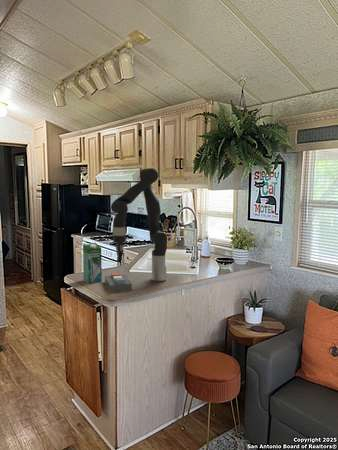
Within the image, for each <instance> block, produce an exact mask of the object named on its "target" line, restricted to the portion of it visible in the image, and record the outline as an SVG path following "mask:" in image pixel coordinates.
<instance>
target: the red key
mask: <svg viewBox="0 0 338 450" xmlns="http://www.w3.org/2000/svg"><path fill="white" fill-rule="evenodd" d="M120 275H121V273H120V272H112V273H110V276H111V277H112V278H113V276H120Z"/></svg>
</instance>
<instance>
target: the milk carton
mask: <svg viewBox="0 0 338 450" xmlns="http://www.w3.org/2000/svg"><path fill="white" fill-rule="evenodd" d="M82 253H83V254H82V260H83V261H82V262H83V263H82V264H83V266H82V267H83V281H84V282H86V283H88V284H95V283H100V282H102V279H103V278H102V277H103V275H102V247H101V246H100V245H99V244H98V243H96V242H89V243H82Z"/></svg>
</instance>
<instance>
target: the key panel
mask: <svg viewBox="0 0 338 450" xmlns="http://www.w3.org/2000/svg"><path fill="white" fill-rule="evenodd" d="M120 276H121V277H122V278H124V279H125V284H119V285H116V284H115V281H114V280H113V278H112V277H111V275H105V276H104V283H105V285H106V287H107V288H108V290H109V292H110V293H117V292H118V293H119V292H125V291H128V292H129V291H132V288H133V287H132V286H133V284H132V282H131V280H129V279H128V277H127V276H126V274H120Z"/></svg>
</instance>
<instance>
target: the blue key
mask: <svg viewBox="0 0 338 450" xmlns="http://www.w3.org/2000/svg"><path fill="white" fill-rule="evenodd" d="M115 284H116V285H119V284H125V279H124V278H115Z"/></svg>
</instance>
